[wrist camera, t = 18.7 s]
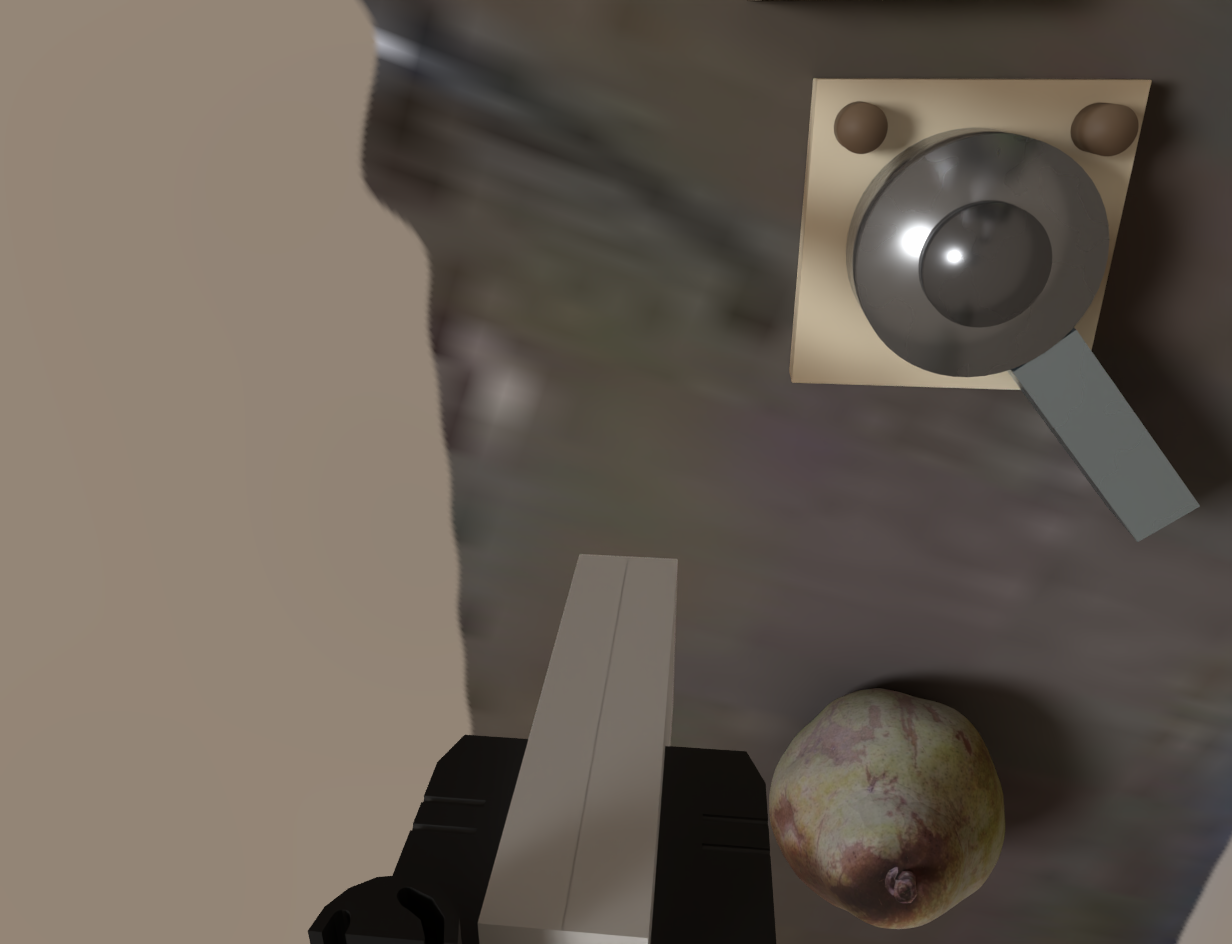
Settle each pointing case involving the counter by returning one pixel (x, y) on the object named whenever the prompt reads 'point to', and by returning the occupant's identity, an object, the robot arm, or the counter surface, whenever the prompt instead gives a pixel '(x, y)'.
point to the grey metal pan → (1008, 296)
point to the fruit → (889, 807)
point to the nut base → (883, 128)
